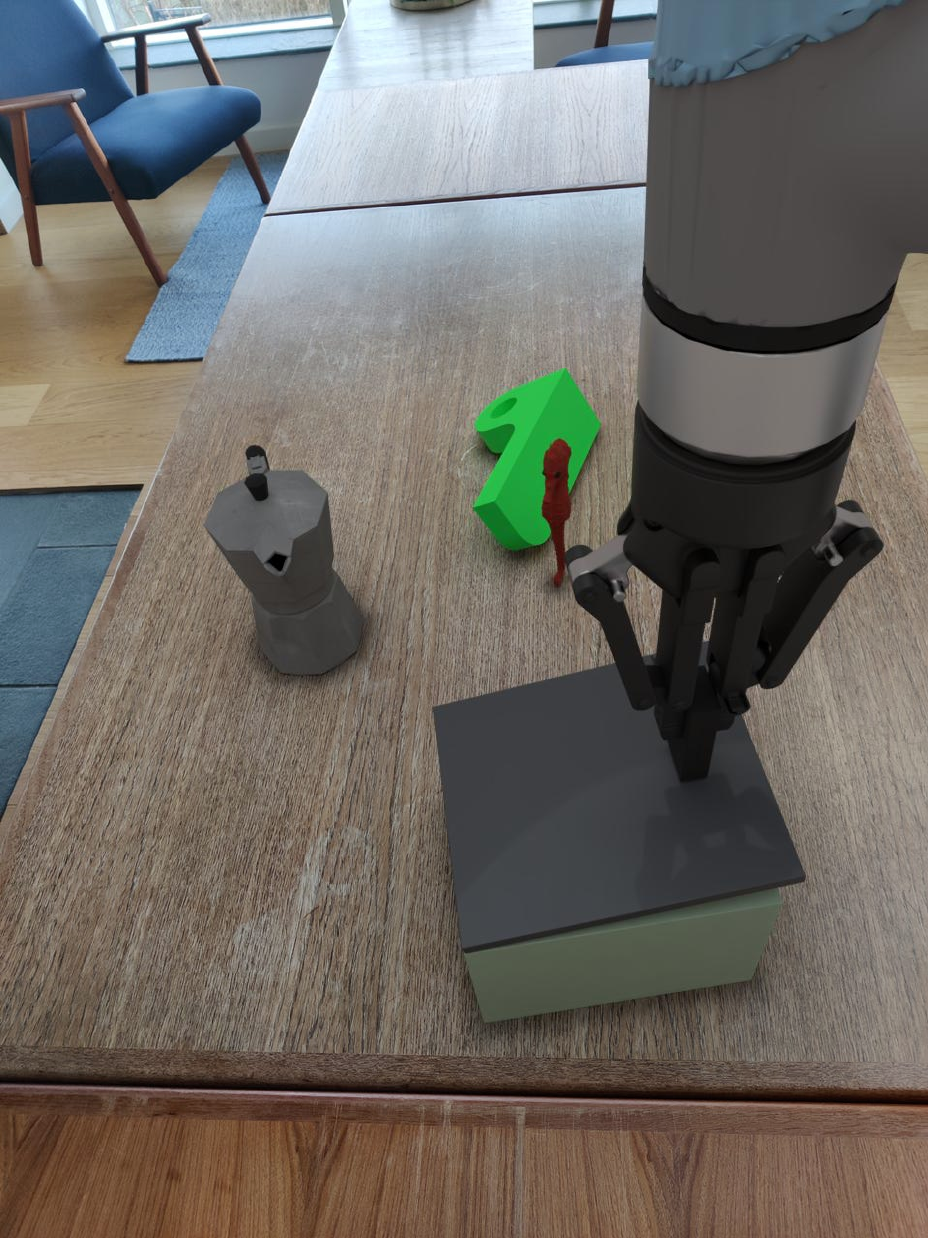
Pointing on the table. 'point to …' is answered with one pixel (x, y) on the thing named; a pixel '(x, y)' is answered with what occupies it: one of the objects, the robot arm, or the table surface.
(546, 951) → the green box
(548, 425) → the bracket
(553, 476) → the toy
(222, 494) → the coffeepot
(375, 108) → the table surface
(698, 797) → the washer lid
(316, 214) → the table surface
